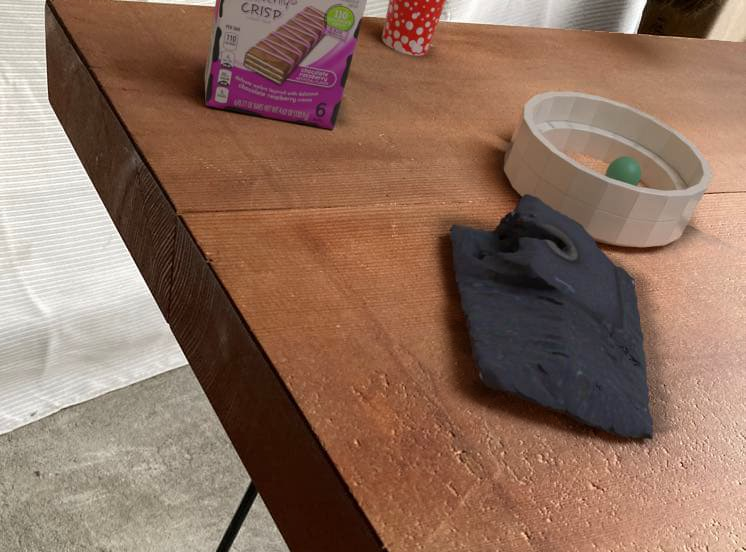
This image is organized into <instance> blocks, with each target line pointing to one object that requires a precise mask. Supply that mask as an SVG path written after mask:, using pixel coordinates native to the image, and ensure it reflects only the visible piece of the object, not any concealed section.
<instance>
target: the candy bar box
mask: <svg viewBox="0 0 746 552" xmlns="http://www.w3.org/2000/svg"><path fill="white" fill-rule="evenodd" d="M367 2H368V0H215V3H214V11H213V18H212V25H211V30H210V37H209V45H208V51H207V57H206V64H205V65H206V66H205V72H204V95H205V105H206V106H207V107H211V108H217V109H221V110H228V111H232V112H233V111H234V112H238V113H243V114H247V115H252V116H259V117H264V118H270V119H275V120H280V121H287V122H290V123H296V124H302V125H307V126H313V127H318V128H323V129H329V130H334V129H335V126H336V123H337V120H338V119H337V118H338V116H339V115H338V114H339V111H340V106H341V103H342V99H343V96H344V92H345V87H346V84H347V81H348V77H349V72H350V69H351V64H352V60H353V56H354V53H355V49H356V47H357V46H356V45H357V41H358V38H359V34H360V31H361V26H362V21H363V17H364V14H365V11H366V10H365V9H366V6H367Z"/></svg>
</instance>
